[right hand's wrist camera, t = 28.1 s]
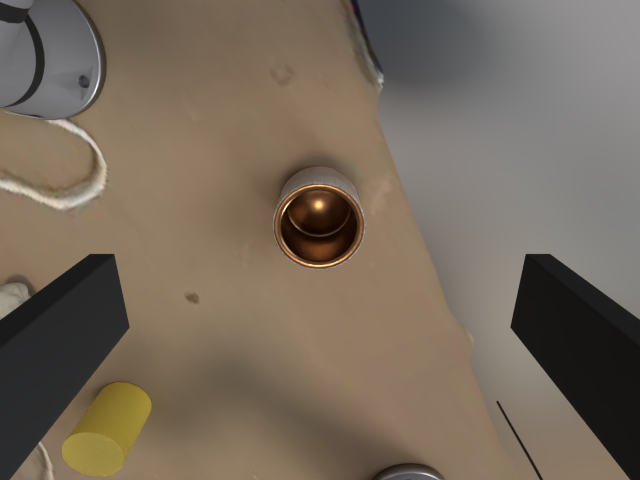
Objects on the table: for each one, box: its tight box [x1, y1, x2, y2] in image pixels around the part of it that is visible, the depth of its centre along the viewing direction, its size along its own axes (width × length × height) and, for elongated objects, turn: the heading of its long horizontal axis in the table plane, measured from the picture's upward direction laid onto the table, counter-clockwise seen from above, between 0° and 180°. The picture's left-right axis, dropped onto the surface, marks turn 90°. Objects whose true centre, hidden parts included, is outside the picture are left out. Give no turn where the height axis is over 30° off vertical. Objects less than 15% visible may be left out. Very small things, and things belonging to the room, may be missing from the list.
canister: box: [62, 382, 152, 477], centre depth 62 cm, size 9×9×10 cm
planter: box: [273, 166, 365, 270], centre depth 49 cm, size 11×11×10 cm
